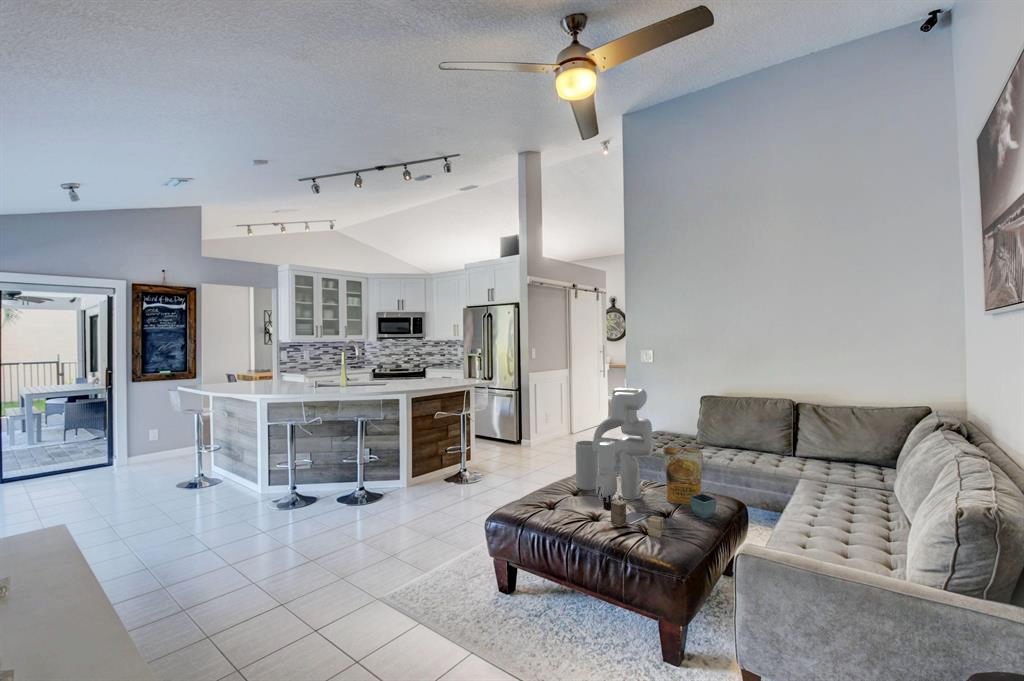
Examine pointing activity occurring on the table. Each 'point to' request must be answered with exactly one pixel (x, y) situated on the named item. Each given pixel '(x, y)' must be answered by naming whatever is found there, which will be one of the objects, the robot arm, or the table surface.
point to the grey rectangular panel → (633, 517)
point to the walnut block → (618, 513)
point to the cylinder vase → (586, 465)
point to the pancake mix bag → (682, 474)
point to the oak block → (655, 526)
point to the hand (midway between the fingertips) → (607, 509)
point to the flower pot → (703, 505)
